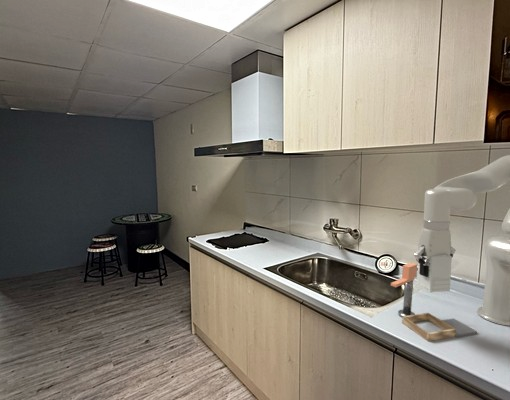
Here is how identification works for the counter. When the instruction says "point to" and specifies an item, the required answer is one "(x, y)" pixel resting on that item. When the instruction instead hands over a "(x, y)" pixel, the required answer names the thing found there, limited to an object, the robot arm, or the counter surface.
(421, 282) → the white drawer cabinet
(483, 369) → the counter surface
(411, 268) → the lever
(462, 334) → the coaster
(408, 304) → the post
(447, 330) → the frame
